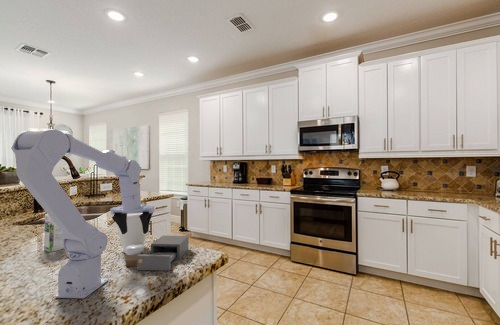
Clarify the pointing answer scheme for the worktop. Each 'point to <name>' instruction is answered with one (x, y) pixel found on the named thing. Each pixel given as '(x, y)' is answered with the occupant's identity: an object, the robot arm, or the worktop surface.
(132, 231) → the jar
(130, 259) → the walnut block
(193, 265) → the worktop surface
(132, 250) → the white dome cap
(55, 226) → the syrup box
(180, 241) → the block
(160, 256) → the grey drawer
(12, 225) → the worktop surface
